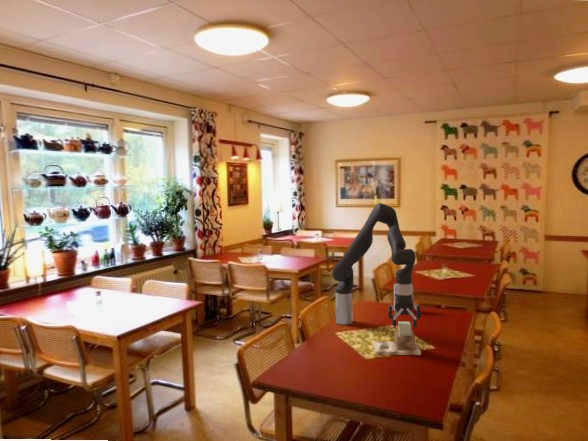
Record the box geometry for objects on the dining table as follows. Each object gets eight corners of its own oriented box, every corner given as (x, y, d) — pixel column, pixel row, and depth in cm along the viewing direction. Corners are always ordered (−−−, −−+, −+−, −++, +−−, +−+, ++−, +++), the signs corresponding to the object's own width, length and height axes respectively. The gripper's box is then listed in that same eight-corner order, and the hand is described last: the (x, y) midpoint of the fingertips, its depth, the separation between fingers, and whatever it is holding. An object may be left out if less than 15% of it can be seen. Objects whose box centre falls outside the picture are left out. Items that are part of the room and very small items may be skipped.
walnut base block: (397, 349, 187) (397, 336, 187) (394, 343, 195) (394, 330, 195) (415, 349, 186) (415, 336, 186) (412, 343, 194) (412, 330, 194)
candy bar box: (395, 312, 248) (394, 285, 246) (393, 310, 253) (393, 284, 251) (414, 312, 246) (413, 285, 245) (412, 310, 251) (412, 283, 250)
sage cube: (400, 335, 188) (399, 325, 188) (398, 332, 193) (398, 321, 193) (411, 335, 188) (411, 325, 187) (409, 332, 193) (409, 321, 192)
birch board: (375, 354, 186) (375, 351, 186) (373, 344, 198) (373, 341, 198) (420, 355, 184) (420, 351, 184) (415, 344, 196) (415, 341, 196)
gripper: (418, 290, 192) (418, 324, 193) (387, 290, 193) (387, 324, 195) (421, 294, 185) (422, 330, 186) (389, 294, 186) (389, 330, 187)
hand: (404, 327), depth 190 cm, fingers open, 8 cm apart
